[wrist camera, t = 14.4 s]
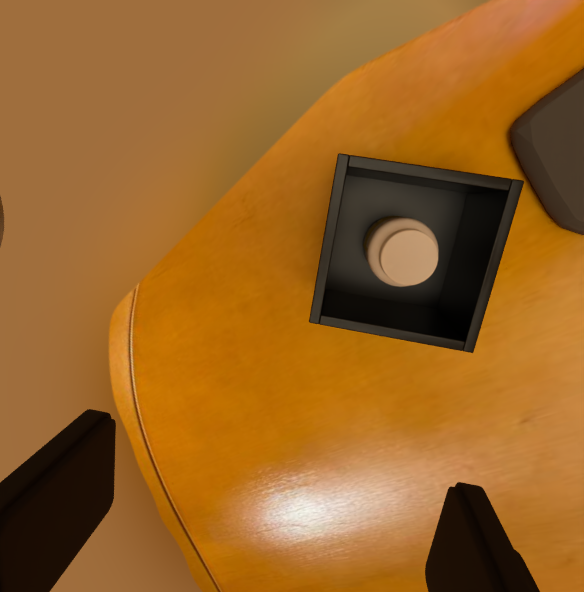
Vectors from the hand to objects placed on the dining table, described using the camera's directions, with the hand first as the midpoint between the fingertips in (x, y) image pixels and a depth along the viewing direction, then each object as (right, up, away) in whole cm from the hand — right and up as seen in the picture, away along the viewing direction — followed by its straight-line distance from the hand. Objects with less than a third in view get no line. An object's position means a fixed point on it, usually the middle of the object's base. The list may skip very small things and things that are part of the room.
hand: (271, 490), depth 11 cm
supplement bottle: (+10, +10, +26) cm, 30 cm away
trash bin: (+10, +10, +27) cm, 31 cm away
